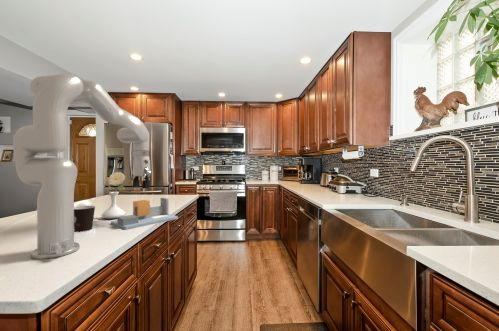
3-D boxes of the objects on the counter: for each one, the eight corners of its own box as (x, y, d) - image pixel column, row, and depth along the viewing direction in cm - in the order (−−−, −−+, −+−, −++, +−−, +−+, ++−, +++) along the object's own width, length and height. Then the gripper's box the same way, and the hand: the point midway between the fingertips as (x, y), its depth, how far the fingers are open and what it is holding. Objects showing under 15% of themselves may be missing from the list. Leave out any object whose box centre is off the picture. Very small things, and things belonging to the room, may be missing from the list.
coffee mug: (95, 230, 104) (95, 207, 104) (70, 233, 99) (70, 210, 99) (94, 224, 114) (94, 204, 113) (72, 227, 109) (72, 205, 109)
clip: (149, 214, 122) (149, 201, 122) (138, 216, 117) (137, 202, 117) (144, 213, 125) (144, 200, 125) (133, 215, 120) (133, 201, 120)
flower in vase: (96, 219, 124) (96, 172, 124) (114, 214, 135) (113, 171, 135) (116, 221, 121) (116, 172, 120) (132, 216, 132) (132, 171, 131)
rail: (178, 218, 126) (178, 199, 126) (126, 229, 105) (125, 206, 105) (161, 214, 136) (161, 196, 136) (111, 223, 115) (111, 203, 115)
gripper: (157, 154, 118) (156, 188, 118) (140, 155, 129) (139, 186, 129) (142, 153, 112) (142, 189, 112) (126, 154, 123) (125, 187, 123)
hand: (140, 187), depth 120 cm, fingers open, 9 cm apart
